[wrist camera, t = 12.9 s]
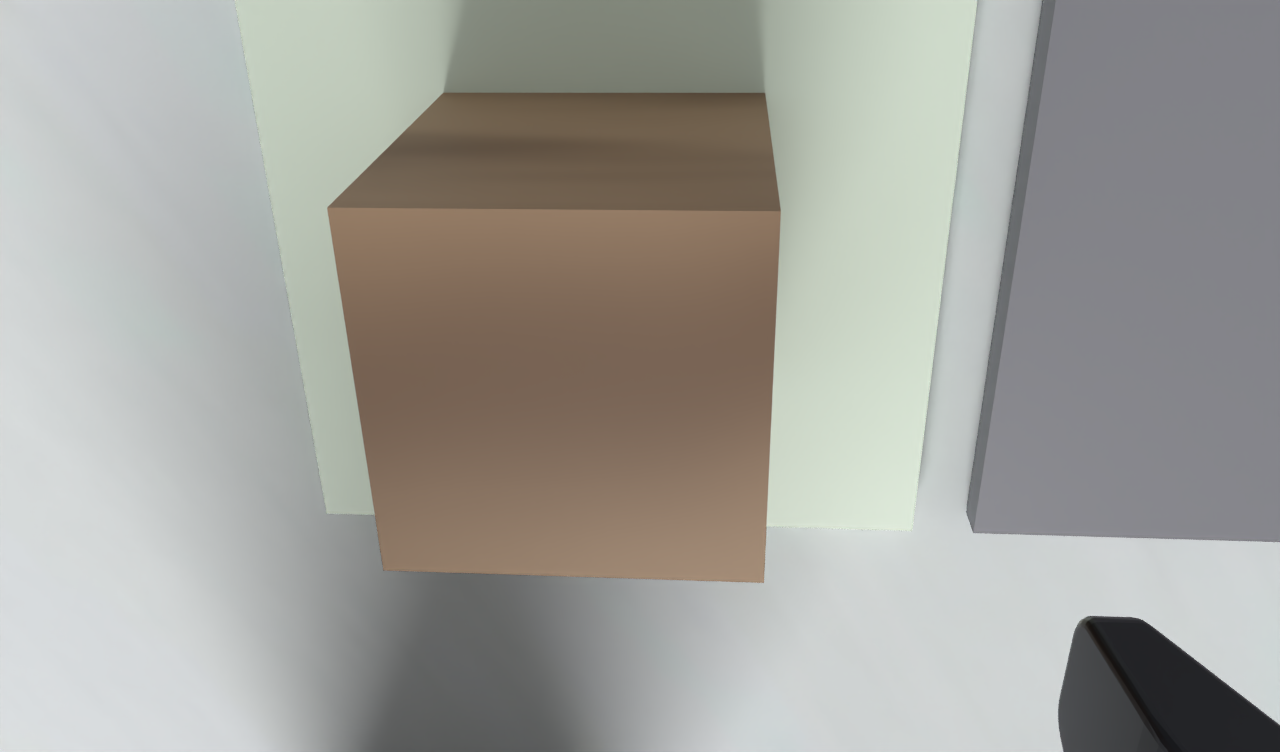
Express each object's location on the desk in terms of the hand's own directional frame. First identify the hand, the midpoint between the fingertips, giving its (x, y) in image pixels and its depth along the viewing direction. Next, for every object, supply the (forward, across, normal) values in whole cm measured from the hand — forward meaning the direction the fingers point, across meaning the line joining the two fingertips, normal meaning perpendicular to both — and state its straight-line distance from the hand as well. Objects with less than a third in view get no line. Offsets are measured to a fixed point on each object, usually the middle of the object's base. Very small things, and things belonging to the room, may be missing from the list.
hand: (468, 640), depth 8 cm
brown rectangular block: (+9, 0, 0) cm, 9 cm away
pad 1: (+10, 0, 0) cm, 10 cm away
